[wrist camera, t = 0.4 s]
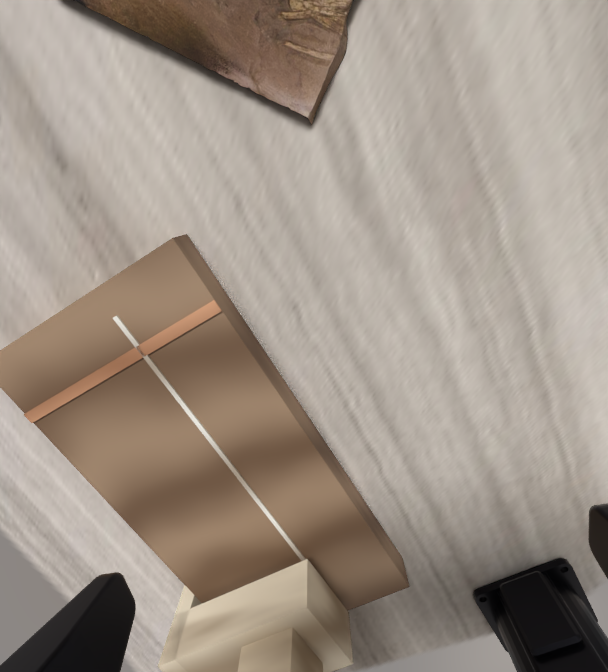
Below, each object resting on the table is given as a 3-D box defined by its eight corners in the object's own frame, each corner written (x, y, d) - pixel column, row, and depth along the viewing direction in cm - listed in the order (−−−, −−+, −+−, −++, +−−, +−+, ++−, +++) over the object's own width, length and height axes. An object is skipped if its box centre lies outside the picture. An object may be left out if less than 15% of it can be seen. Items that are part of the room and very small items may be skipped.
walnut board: (402, 558, 25) (409, 588, 23) (250, 619, 28) (245, 651, 26) (186, 234, 19) (171, 238, 17) (9, 349, 21) (-23, 365, 19)
